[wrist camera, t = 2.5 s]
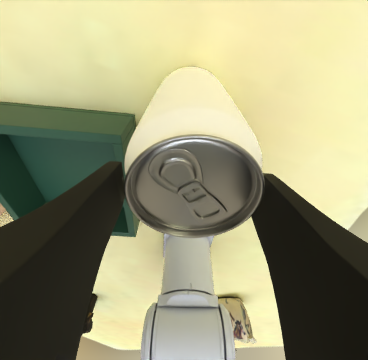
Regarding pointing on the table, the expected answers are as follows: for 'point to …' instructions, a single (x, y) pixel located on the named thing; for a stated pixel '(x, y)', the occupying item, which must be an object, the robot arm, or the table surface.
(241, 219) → the can
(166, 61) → the table surface
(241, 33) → the table surface
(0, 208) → the greeting card
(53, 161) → the tote
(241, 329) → the pencil case
